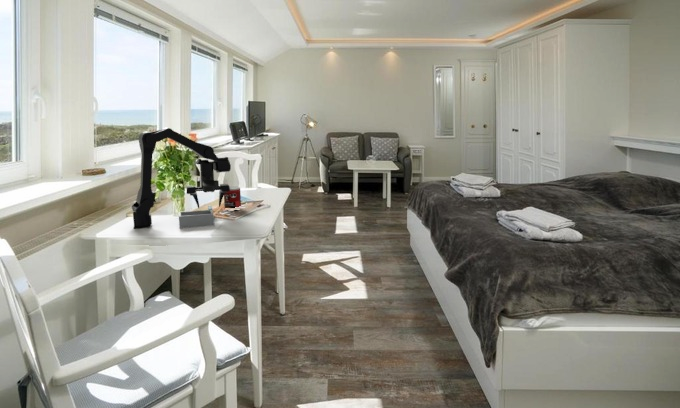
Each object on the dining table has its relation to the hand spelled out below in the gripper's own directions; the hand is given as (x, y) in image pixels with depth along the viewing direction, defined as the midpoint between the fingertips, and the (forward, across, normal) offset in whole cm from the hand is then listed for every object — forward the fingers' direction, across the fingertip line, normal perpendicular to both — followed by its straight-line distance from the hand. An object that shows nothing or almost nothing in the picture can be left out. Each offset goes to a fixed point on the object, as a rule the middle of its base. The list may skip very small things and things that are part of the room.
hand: (209, 207), depth 218 cm
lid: (+5, -6, 0) cm, 8 cm away
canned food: (+5, +12, +12) cm, 17 cm away
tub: (+5, -6, -12) cm, 14 cm away
